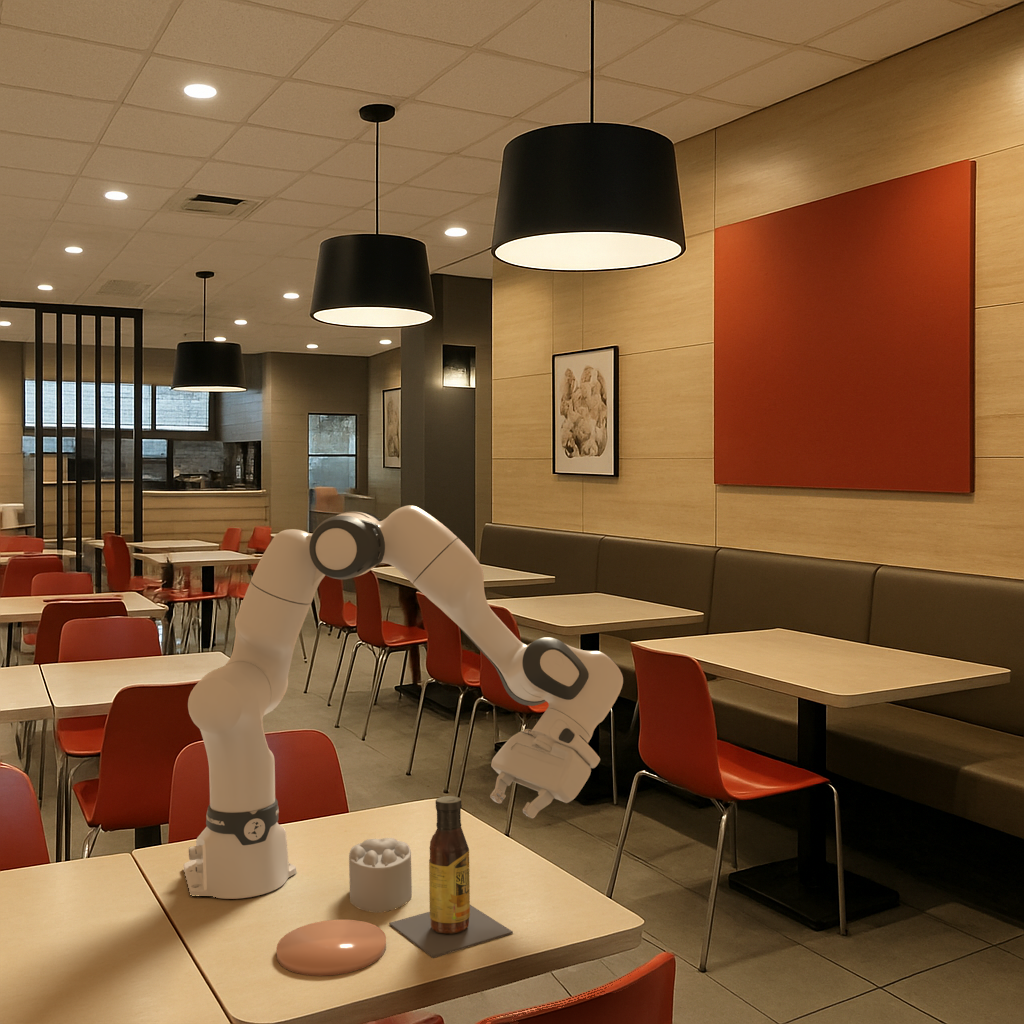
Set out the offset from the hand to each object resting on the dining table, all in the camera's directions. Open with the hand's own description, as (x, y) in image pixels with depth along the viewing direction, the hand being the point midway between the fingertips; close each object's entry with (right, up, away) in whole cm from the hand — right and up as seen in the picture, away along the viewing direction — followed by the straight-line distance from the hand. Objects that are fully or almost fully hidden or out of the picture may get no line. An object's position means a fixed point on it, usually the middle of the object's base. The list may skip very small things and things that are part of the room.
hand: (510, 807), depth 162 cm
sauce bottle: (-9, -17, -6) cm, 20 cm away
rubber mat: (-9, -17, -6) cm, 20 cm away
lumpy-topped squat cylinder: (-22, -17, +7) cm, 29 cm away
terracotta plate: (-26, -17, -13) cm, 34 cm away
